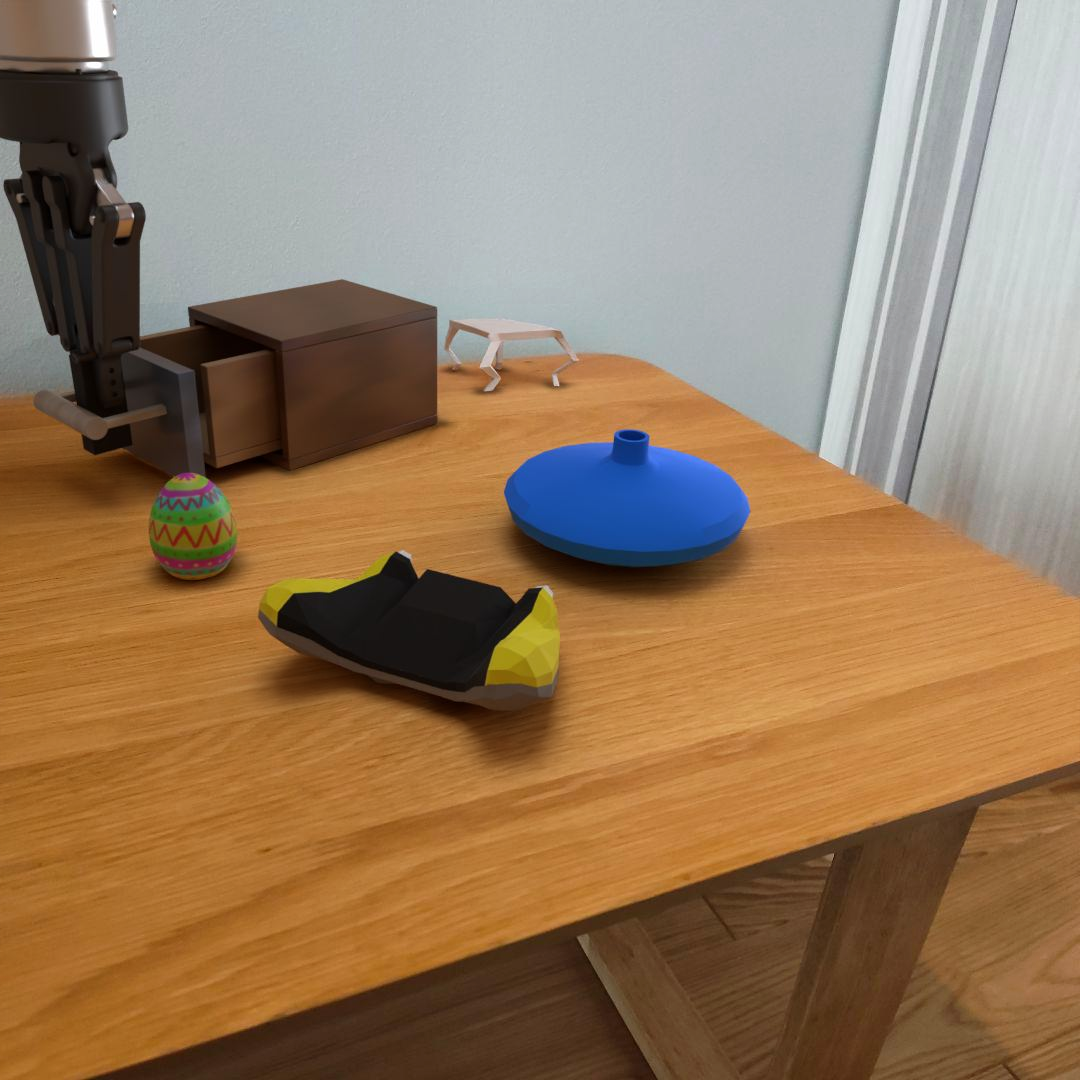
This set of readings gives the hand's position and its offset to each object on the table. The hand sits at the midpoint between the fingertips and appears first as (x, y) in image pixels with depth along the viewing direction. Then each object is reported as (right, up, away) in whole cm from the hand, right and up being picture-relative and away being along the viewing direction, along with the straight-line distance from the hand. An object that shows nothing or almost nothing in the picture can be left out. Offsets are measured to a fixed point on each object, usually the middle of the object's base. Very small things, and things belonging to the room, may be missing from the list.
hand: (108, 446), depth 71 cm
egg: (+9, -8, -8) cm, 15 cm away
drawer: (+4, 0, +5) cm, 7 cm away
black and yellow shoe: (+23, -13, -17) cm, 32 cm away
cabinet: (+12, +3, +13) cm, 18 cm away
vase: (+35, -6, -2) cm, 35 cm away
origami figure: (+26, +8, +26) cm, 38 cm away
